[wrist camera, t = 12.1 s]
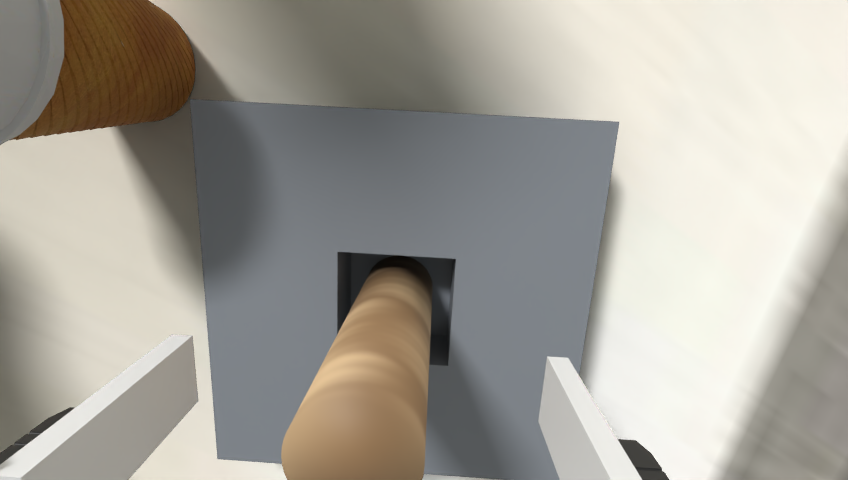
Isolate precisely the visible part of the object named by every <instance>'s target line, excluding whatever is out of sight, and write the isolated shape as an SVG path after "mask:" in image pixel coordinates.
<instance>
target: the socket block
mask: <svg viewBox="0 0 848 480" xmlns="http://www.w3.org/2000/svg"><path fill="white" fill-rule="evenodd" d="M190 107H191V120H192V133H193V146H194V159H195V172H196V185H197V198H198V211H199V224H200V237H201V250H202V263H203V276H204V289H205V302H206V315H207V328H208V341H209V354H210V367H211V380H212V393H213V406H214V419H215V432H216V445H217V458H218V459H224V460H238V461H252V462H266V463H280V464H282V459H281V450H282V444H283V440H284V437H285V434H286V432H287V430H288V428H289V426H290V424H291V422H292V421H293V419H294V417H295V415H296V413H297V411H298V409H299V407H300V405H301V403H302V401H303V399H304V398H305V396H306V394H307V392H308V390H309V388H310V386H311V384H312V382H313V380H314V378H315V376H316V375H317V373H318V371H319V369H320V367H321V365H322V363H323V361H324V359H325V357H326V355H327V353H328V352H329V350H330V348H331V346H332V344H333V342H334V340H335V338H336V336H337V334H338V332H339V330H340V329H341V327H342V325H343V323H344V321H345V319H346V317H347V315H348V313H349V311H350V309H351V307H352V306H353V304H354V302H355V300H356V298H357V296H358V294H359V292H360V290H361V288H362V286H363V284H364V283H365V281H366V279H367V277H368V275H369V273H370V271H371V270H372V268H373V267H374V266H375V265H376V264H377V263H378V262H379V261H381V260H383V259H385V258H387V257H391V256H407V257H410V258H413V259H415V260H417V261H418V262H420V263H421V264H422V265H423V266H424V267H425V268H426V269H427V271H428V272H429V274H430V277H431V280H432V285H433V292H432V314H431V336H430V358H429V380H428V402H427V424H426V446H425V467H424V474H433V475H447V476H461V477H475V478H489V479H503V480H560V479H559V476H558V474H557V471H556V468H555V465H554V463H553V460H552V457H551V455H550V452H549V449H548V446H547V444H546V441H545V438H544V435H543V433H542V430H541V427H540V425H539V422H538V419H539V412H540V405H541V398H542V390H543V383H544V376H545V369H546V361H547V356H548V357H565V358H569V360H570V362H571V363H572V365H573V367H574V368H575V370H576V372H577V373H578V375H579V373H580V367H581V361H582V355H583V348H584V342H585V336H586V329H587V323H588V317H589V310H590V304H591V298H592V291H593V285H594V279H595V272H596V266H597V260H598V253H599V247H600V241H601V234H602V228H603V222H604V215H605V209H606V203H607V196H608V190H609V184H610V178H611V171H612V165H613V159H614V152H615V146H616V140H617V133H618V127H619V122H612V121H593V120H574V119H555V118H536V117H517V116H499V115H480V114H461V113H442V112H423V111H404V110H385V109H367V108H348V107H329V106H310V105H291V104H272V103H253V102H235V101H216V100H197V99H190Z"/></svg>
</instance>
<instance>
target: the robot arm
mask: <svg viewBox="0 0 848 480" xmlns="http://www.w3.org/2000/svg"><path fill="white" fill-rule="evenodd" d="M197 402H198V392H197V381H196V369H195V358H194V347H193V336H190V335H173V334H172V335H171V336H169V337H168V338H167V339H165V340H164V341H163V342H161V343H160V344H159V345H157V346H156V347H155V348H153V349H152V350H151V351H149V352H148V353H147V354H146V355H144V356H143V357H142V358H140V359H139V360H138V361H136V362H135V363H134V364H132V365H131V366H130V367H128V368H127V369H126V370H124V371H123V372H122V373H120V374H119V375H118V376H117V377H115V378H114V379H113V380H111V381H110V382H109V383H107V384H106V385H105V386H103V387H102V388H101V389H99V390H98V391H97V392H95V393H94V394H93V395H91V396H90V397H89V398H87V399H86V400H85V401H84V402H82V403H81V404H80V405H78V406H77V407H76V408H68V409H66V410H64V411H62V412H60V413H58V414H56V415H54V416H52V417H50V418H48V419H46V420H45V421H44V422H42V423H41V424H40V425H38V426H37V427H36V428H34V429H33V430H31V431H30V433H29V434H26V435H25V436H23V437H22V438H21V439H19V440H18V441H16V442H15V444H14V445H11V446H10V447H8V448H7V449H6V450H4V451H3V452H1V453H0V480H128V479H129V478H130V477H131V476H132V475H133V474H134V473H135V472H136V470H137V469H138V468H139V467H140V466H141V465H142V464H143V463H144V461H145V460H146V459H147V458H148V457H149V456H150V455H151V454H152V452H153V451H154V450H155V449H156V448H157V447H158V446H159V445H160V443H161V442H162V441H163V440H164V439H165V438H166V437H167V436H168V434H169V433H170V432H171V431H172V430H173V429H174V428H175V427H176V425H177V424H178V423H179V422H180V421H181V420H182V419H183V418H184V416H185V415H186V414H187V413H188V412H189V411H190V410H191V409H192V407H193V406H194V405H195V404H196V403H197ZM538 422H539V425H540V427H541V430H542V433H543V435H544V438H545V441H546V444H547V446H548V449H549V452H550V455H551V457H552V460H553V463H554V465H555V468H556V471H557V474H558V476H559V479H560V480H669V479H668V477H667V476H666V474H665V473H664V472H662V468H661V467H660V465H659V464H658V462H657V461H656V460H655V458H654V457H653V455H652V454H651V453H650V452H649V451H648V450H646V449H645V448H644V447H643V446H642V445H640V444H639V443H638V442H637V441H636V440H621V439H617V437H616V436H615V434H614V433H613V431H612V429H611V428H610V426H609V424H608V423H607V421H606V419H605V418H604V416H603V414H602V413H601V411H600V409H599V408H598V406H597V405H596V403H595V401H594V400H593V398H592V396H591V395H590V393H589V391H588V390H587V388H586V386H585V385H584V383H583V382H582V380H581V378H580V377H579V375H578V373H577V372H576V370H575V368H574V367H573V365H572V363H571V362H570V360H569V358H565V357H548V356H547V361H546V369H545V376H544V383H543V390H542V398H541V405H540V412H539V419H538Z"/></svg>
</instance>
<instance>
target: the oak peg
mask: <svg viewBox="0 0 848 480" xmlns="http://www.w3.org/2000/svg"><path fill="white" fill-rule="evenodd" d="M432 292H433V285H432V280H431V277H430V274H429V272H428V271H427V269H426V268H425V267H424V266H423V265H422V264H421V263H420V262H418V261H417V260H415V259H413V258H410V257H407V256H391V257H387V258H385V259H383V260H381V261H379V262H378V263H377V264H376V265H375V266H374V267H373V268H372V270H371V271H370V273H369V275H368V277H367V279H366V281H365V283H364V284H363V286H362V288H361V290H360V292H359V294H358V296H357V298H356V300H355V302H354V304H353V306H352V307H351V309H350V311H349V313H348V315H347V317H346V319H345V321H344V323H343V325H342V327H341V329H340V330H339V332H338V334H337V336H336V338H335V340H334V342H333V344H332V346H331V348H330V350H329V352H328V353H327V355H326V357H325V359H324V361H323V363H322V365H321V367H320V369H319V371H318V373H317V375H316V376H315V378H314V380H313V382H312V384H311V386H310V388H309V390H308V392H307V394H306V396H305V398H304V399H303V401H302V403H301V405H300V407H299V409H298V411H297V413H296V415H295V417H294V419H293V421H292V422H291V424H290V426H289V428H288V430H287V432H286V434H285V437H284V440H283V444H282V450H281V459H282V466H283V470H284V473H285V475H286V478H287V480H422V478H423V474H424V467H425V446H426V424H427V402H428V380H429V358H430V336H431V314H432Z"/></svg>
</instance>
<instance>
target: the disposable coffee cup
mask: <svg viewBox="0 0 848 480" xmlns="http://www.w3.org/2000/svg"><path fill="white" fill-rule="evenodd" d="M194 80H195V62H194V55H193V51H192V48H191V45H190V43H189V41H188V39H187V36H186V34H185V33H184V31H183V30H182V29H181V27H180V26H179V24H178V23H177V22H176V21H175V20H174V19H173V18H172V17H171V16H170V15H169V14H167V13H166V12H165V11H163V10H162V9H160V8H159V7H157V6H156V5H154V4H153V3H151V2H150V1H148V0H0V145H1V144H2V143H4V142H6V141H8V140H13V139H16V140H19V139H23V138H28V137H30V138H33V137H38V136H42V135H44V136H48V135H52V134H62V133H66V132H69V133H71V132H75V131H83V130H88V129H90V130H92V129H97V128H106V127H113V126H121V125H126V124H127V125H129V124H135V123H141V122H142V123H143V122H152V121H158V120H163V119H165V118H167V117H169V116H172V115H173V114H174V113H176V112H177V111H178V110H180V108H181V107H182V106H183V105H184V104H185V103H186V101H187V99H188V97H189V95H190V93H191V91H192V88H193V85H194Z"/></svg>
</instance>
